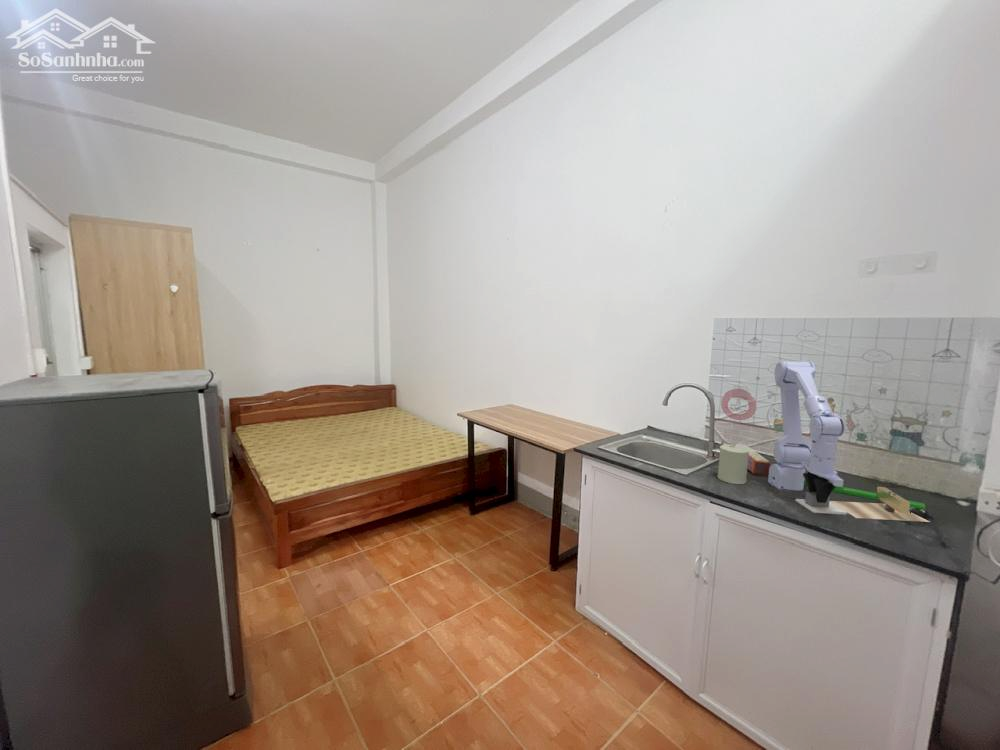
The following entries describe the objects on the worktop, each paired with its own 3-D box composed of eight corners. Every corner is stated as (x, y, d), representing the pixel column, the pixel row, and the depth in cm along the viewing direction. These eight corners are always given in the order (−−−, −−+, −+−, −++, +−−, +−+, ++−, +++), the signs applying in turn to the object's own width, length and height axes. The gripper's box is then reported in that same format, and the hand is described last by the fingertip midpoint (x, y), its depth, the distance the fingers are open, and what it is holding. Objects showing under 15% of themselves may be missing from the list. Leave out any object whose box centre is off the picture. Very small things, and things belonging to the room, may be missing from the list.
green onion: (920, 511, 119) (797, 484, 136) (922, 501, 119) (799, 475, 135) (925, 517, 115) (798, 489, 132) (927, 507, 115) (800, 480, 132)
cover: (813, 515, 113) (814, 499, 113) (795, 503, 121) (796, 487, 121) (846, 517, 113) (848, 500, 112) (826, 504, 120) (827, 489, 120)
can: (741, 475, 145) (743, 444, 144) (750, 485, 137) (754, 452, 135) (714, 473, 147) (716, 442, 146) (721, 482, 139) (724, 450, 137)
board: (855, 522, 111) (857, 512, 110) (827, 505, 121) (828, 495, 121) (929, 526, 109) (931, 516, 108) (893, 508, 120) (895, 498, 119)
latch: (876, 496, 120) (877, 485, 119) (884, 497, 119) (885, 486, 119) (899, 512, 109) (901, 500, 109) (908, 513, 109) (910, 501, 108)
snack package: (771, 477, 145) (773, 460, 144) (752, 476, 146) (753, 458, 145) (746, 458, 165) (748, 443, 164) (729, 457, 167) (731, 442, 166)
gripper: (857, 465, 107) (851, 512, 109) (819, 449, 122) (815, 490, 123) (829, 464, 108) (824, 510, 110) (795, 448, 122) (791, 489, 124)
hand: (817, 500), depth 117 cm, fingers closed on cover, 2 cm apart
